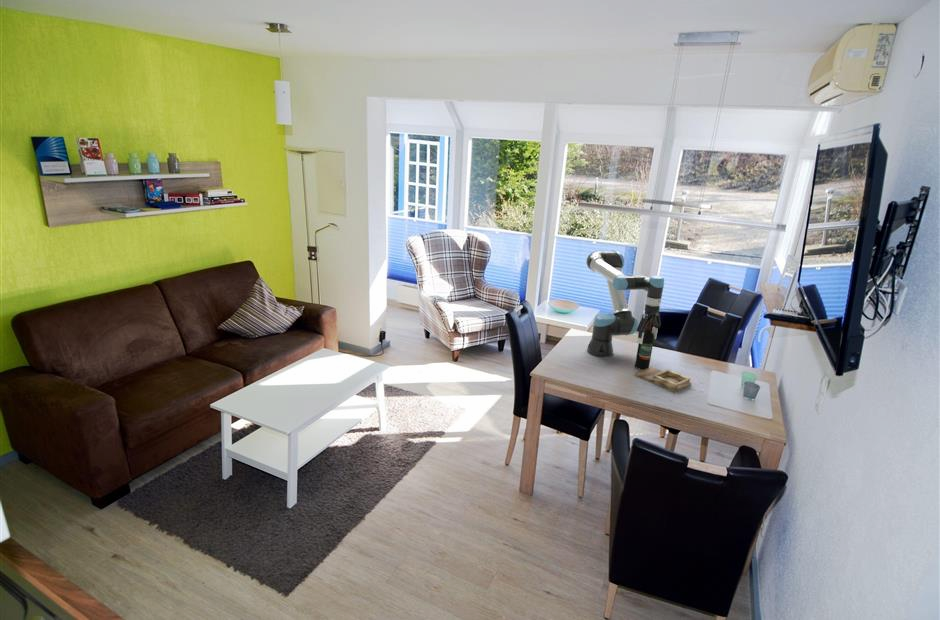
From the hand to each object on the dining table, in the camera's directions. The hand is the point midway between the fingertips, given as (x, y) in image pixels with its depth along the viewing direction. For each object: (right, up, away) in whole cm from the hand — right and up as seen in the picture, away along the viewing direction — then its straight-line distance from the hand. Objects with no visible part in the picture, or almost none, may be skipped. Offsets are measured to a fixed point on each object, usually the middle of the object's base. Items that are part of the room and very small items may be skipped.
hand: (646, 340), depth 281 cm
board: (+5, -20, -9) cm, 23 cm away
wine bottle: (-1, -15, +5) cm, 16 cm away
